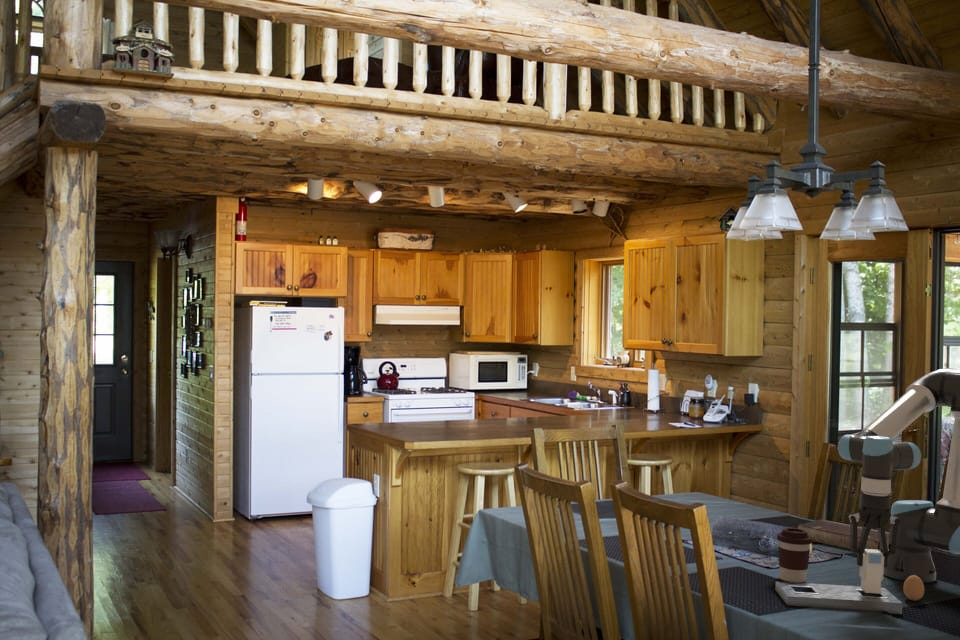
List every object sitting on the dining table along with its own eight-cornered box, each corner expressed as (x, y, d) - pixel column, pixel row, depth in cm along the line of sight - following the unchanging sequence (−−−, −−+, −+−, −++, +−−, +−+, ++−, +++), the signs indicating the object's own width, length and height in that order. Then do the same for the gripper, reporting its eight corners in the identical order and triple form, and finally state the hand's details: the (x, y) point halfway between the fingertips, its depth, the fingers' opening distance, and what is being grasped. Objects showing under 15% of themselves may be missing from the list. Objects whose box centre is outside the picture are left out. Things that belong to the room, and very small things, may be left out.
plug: (875, 589, 269) (877, 549, 269) (881, 594, 265) (883, 553, 264) (860, 588, 269) (862, 548, 269) (866, 593, 265) (868, 552, 265)
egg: (922, 604, 270) (924, 579, 270) (901, 600, 272) (902, 575, 272) (924, 599, 275) (925, 574, 274) (903, 596, 277) (905, 571, 277)
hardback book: (901, 548, 338) (902, 533, 337) (879, 556, 324) (880, 541, 324) (821, 531, 358) (821, 518, 358) (797, 539, 344) (797, 525, 344)
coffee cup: (812, 587, 283) (814, 535, 282) (776, 583, 285) (779, 532, 284) (808, 577, 292) (810, 528, 292) (773, 574, 294) (775, 525, 294)
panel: (884, 598, 274) (884, 587, 274) (901, 614, 260) (902, 602, 260) (775, 591, 276) (775, 581, 276) (787, 607, 262) (787, 595, 262)
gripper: (902, 492, 270) (898, 576, 270) (839, 488, 271) (835, 572, 272) (912, 497, 263) (908, 584, 263) (847, 494, 264) (843, 580, 264)
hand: (871, 578), depth 267 cm, fingers closed on plug, 4 cm apart
